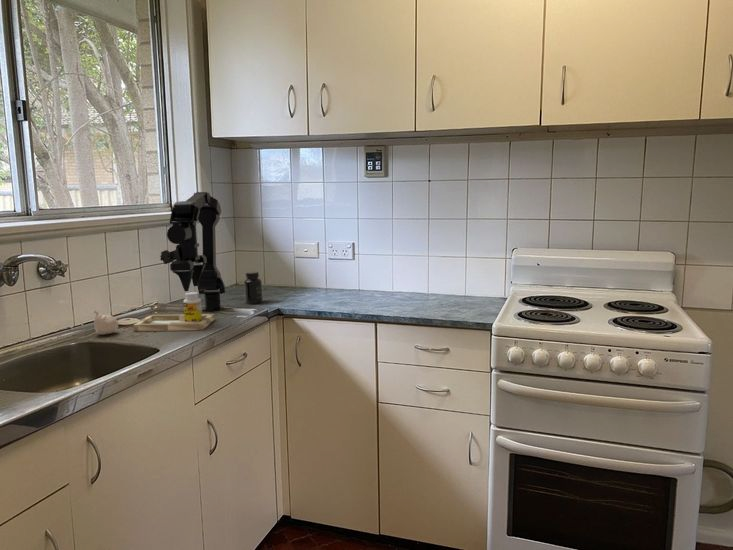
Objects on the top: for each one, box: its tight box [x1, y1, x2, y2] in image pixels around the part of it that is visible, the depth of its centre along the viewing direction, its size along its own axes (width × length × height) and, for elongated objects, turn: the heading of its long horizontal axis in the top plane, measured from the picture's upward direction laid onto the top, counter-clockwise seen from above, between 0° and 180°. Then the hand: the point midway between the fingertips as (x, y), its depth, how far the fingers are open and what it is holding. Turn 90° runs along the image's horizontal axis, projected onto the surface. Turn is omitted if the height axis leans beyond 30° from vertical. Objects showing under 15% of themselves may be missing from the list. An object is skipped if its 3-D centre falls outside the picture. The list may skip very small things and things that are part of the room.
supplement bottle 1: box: [183, 291, 203, 322], centre depth 181 cm, size 6×6×10 cm
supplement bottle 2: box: [243, 271, 264, 305], centre depth 215 cm, size 7×7×12 cm
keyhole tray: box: [132, 313, 216, 332], centre depth 182 cm, size 14×22×2 cm, turn 90°
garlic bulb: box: [93, 310, 119, 336], centre depth 172 cm, size 7×6×8 cm
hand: (191, 288), depth 180 cm, fingers open, 9 cm apart
